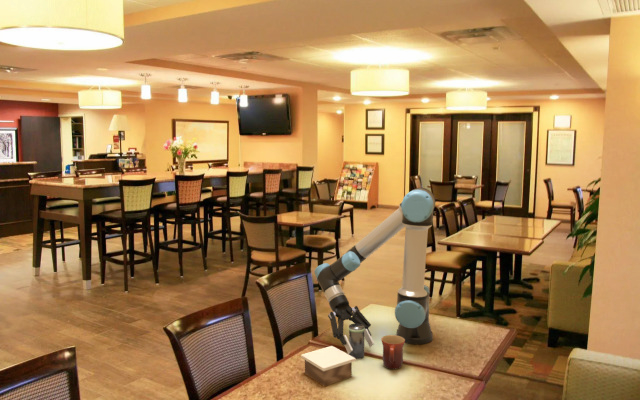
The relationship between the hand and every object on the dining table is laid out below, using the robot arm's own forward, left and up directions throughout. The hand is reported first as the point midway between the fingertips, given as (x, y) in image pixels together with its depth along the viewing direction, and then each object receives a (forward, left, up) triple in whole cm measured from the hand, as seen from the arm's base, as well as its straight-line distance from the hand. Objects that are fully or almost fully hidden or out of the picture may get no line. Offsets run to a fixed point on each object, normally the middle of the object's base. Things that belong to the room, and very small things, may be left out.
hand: (361, 348), depth 198 cm
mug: (-4, +13, -4) cm, 14 cm away
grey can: (0, -3, -4) cm, 5 cm away
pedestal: (+19, +4, -4) cm, 20 cm away
